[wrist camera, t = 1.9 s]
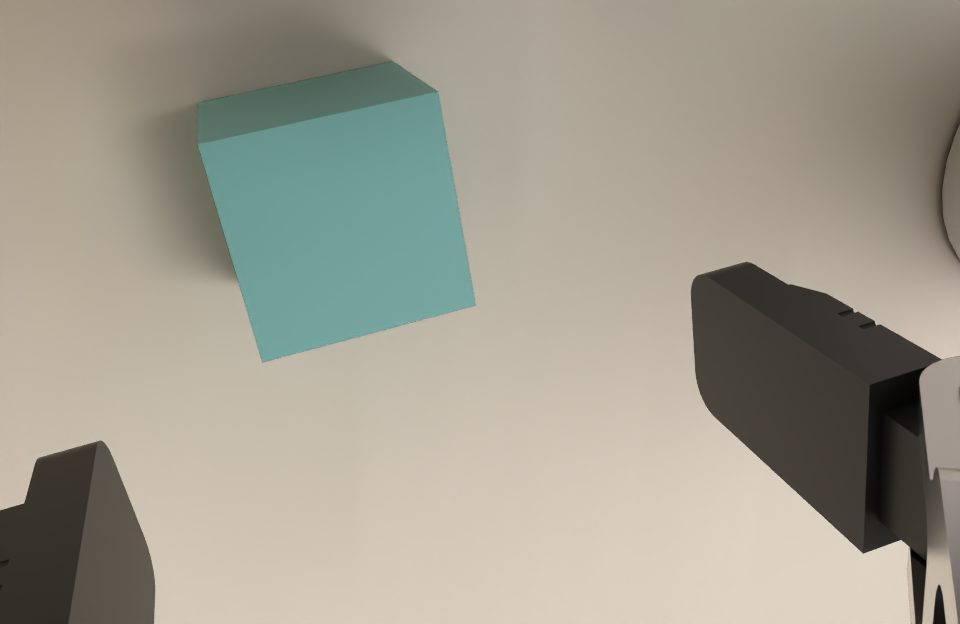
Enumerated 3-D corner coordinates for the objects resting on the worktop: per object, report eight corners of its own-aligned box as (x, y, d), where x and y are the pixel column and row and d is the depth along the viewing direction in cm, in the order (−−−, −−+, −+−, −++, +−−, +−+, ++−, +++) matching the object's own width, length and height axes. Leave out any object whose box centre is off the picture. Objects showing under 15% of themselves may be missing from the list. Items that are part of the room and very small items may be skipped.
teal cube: (392, 61, 23) (437, 91, 19) (427, 240, 26) (475, 305, 21) (197, 101, 23) (197, 144, 18) (251, 284, 25) (262, 362, 20)
